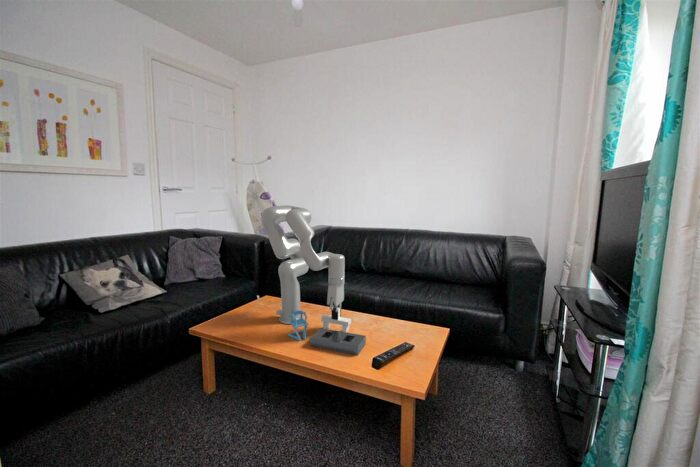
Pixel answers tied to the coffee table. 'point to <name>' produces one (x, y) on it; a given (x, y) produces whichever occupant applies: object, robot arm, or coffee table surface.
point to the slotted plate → (338, 341)
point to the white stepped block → (336, 321)
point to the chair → (298, 325)
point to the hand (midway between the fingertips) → (336, 317)
